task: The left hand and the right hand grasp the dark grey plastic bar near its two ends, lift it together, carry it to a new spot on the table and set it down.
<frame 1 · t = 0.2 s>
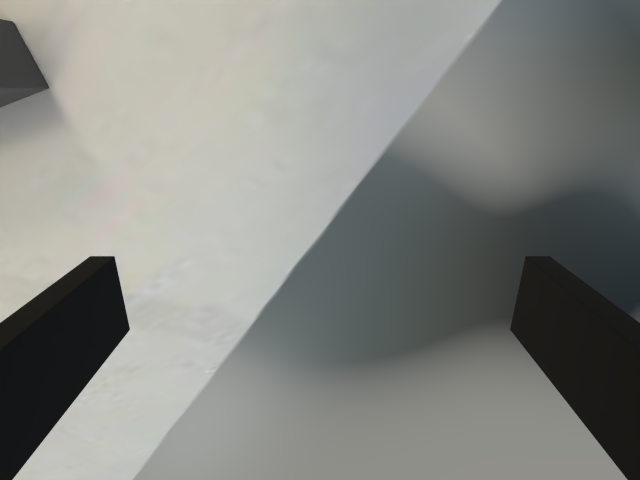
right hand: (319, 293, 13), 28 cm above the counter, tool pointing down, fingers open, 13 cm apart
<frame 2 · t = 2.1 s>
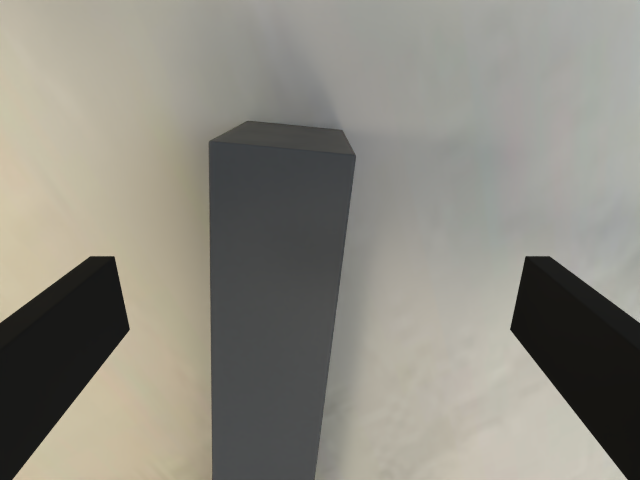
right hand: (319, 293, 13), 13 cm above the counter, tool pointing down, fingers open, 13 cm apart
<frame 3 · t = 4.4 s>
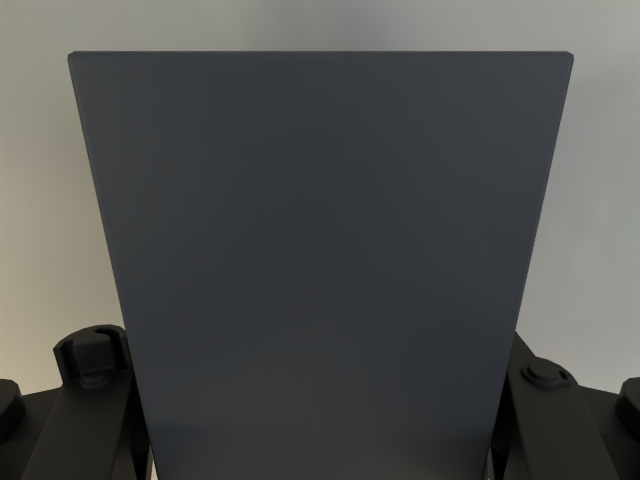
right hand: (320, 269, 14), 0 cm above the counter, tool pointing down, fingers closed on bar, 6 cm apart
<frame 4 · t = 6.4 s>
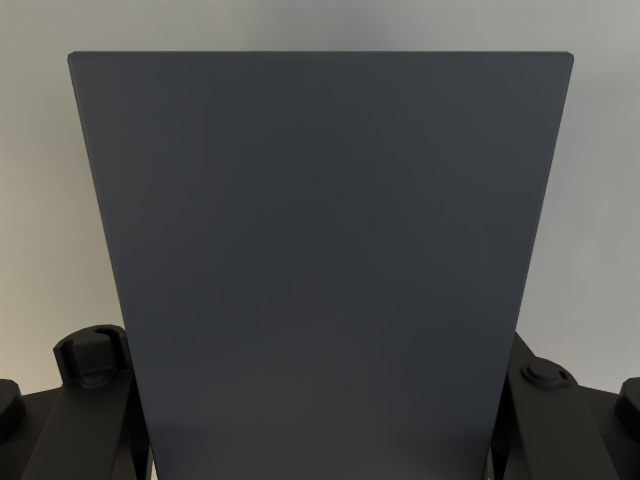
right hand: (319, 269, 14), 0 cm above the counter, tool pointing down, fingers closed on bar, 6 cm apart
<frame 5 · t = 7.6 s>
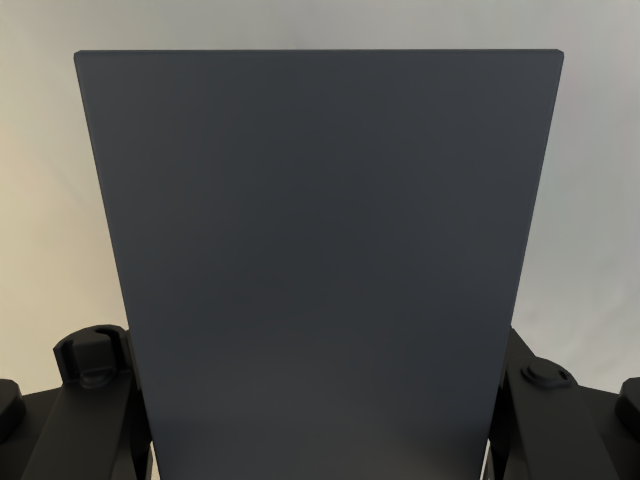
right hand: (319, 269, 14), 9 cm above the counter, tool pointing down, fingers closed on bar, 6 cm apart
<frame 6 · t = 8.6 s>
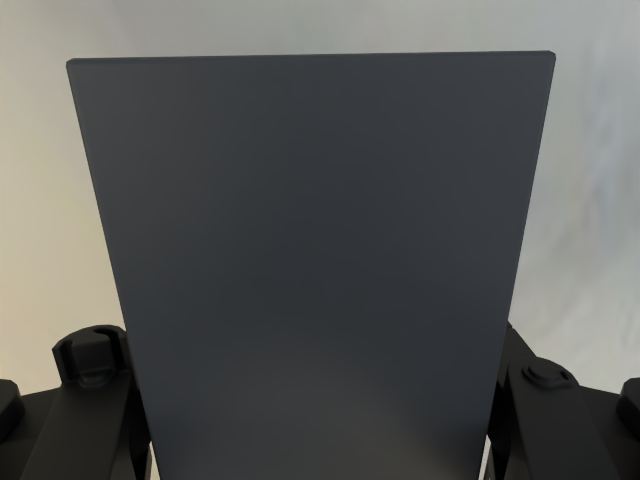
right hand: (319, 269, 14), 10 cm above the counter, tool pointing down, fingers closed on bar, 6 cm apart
when the left hand's fingers open (2 cm above the counter, at t = 11.3 s): bar drops 1 cm, on the counter.
when the right hand's fingers open (2 cm above the counter, at t = 11.3 s): bar drops 1 cm, on the counter.
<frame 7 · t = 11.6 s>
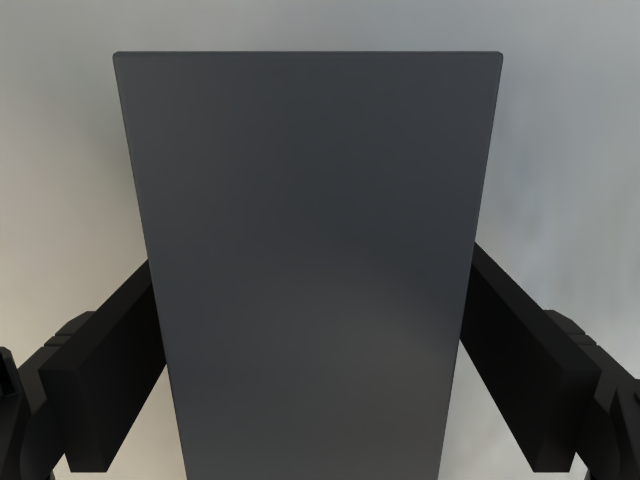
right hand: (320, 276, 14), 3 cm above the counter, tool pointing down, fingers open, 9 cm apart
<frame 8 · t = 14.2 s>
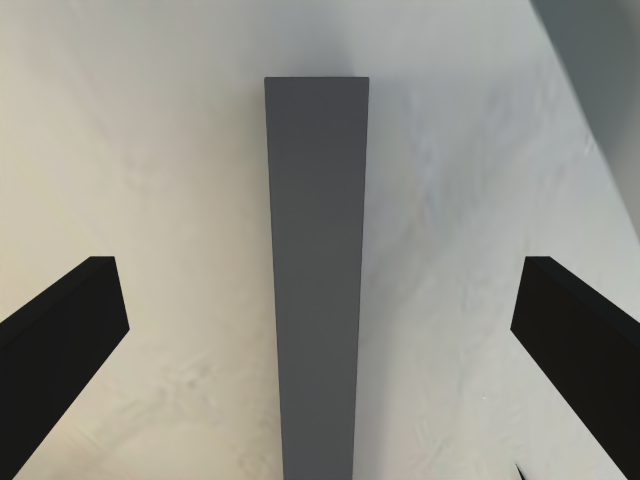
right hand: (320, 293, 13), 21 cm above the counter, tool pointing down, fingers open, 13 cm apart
bar: (318, 421, 42), on the counter
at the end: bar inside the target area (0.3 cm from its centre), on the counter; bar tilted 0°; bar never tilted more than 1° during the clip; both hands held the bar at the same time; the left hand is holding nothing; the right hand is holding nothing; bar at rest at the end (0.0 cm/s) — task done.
